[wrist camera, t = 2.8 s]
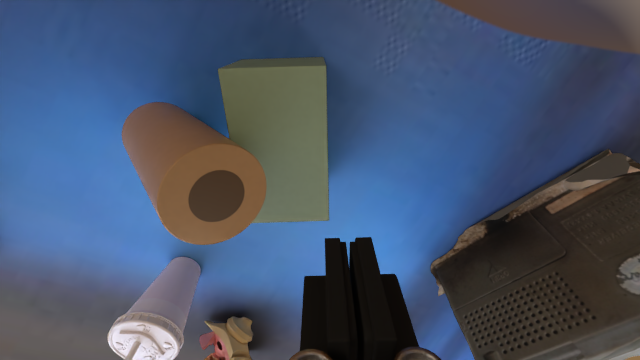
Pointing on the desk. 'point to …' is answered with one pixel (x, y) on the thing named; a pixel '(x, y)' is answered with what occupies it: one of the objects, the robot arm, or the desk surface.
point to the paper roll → (193, 174)
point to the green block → (282, 131)
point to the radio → (553, 270)
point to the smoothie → (158, 315)
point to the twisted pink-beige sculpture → (229, 339)
